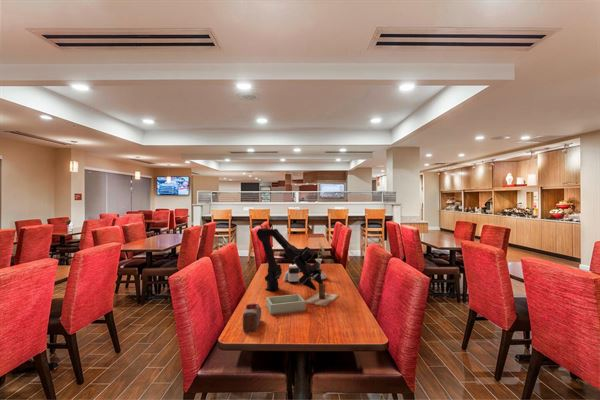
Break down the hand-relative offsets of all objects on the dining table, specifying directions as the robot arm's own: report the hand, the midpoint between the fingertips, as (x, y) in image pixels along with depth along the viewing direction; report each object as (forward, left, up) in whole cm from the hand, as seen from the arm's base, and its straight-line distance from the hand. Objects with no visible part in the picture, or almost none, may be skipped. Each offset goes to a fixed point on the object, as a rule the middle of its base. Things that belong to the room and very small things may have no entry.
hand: (319, 287), depth 176 cm
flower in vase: (-21, +37, -6) cm, 43 cm away
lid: (+2, 0, -7) cm, 7 cm away
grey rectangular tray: (-7, -23, -6) cm, 25 cm away
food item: (-8, -48, -7) cm, 49 cm away
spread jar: (-33, +20, -6) cm, 39 cm away
